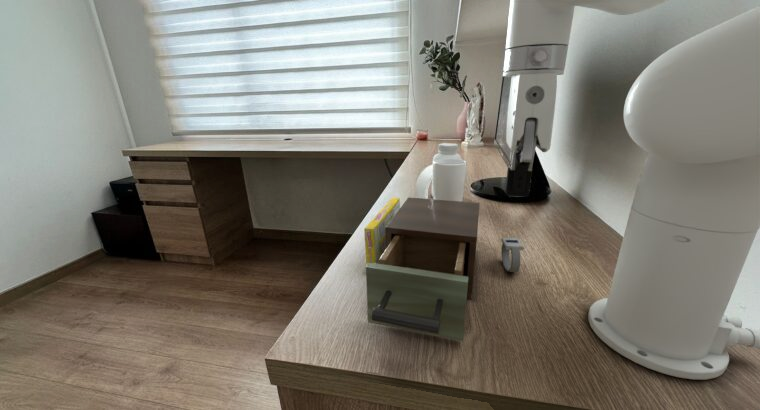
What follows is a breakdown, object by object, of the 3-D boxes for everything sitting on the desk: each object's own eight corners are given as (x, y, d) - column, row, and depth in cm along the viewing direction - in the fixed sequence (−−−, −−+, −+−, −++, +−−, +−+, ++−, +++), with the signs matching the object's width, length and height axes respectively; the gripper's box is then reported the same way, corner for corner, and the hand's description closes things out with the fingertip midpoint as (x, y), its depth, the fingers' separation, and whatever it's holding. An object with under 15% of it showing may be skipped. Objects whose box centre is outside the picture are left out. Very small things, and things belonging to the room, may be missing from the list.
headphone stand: (445, 214, 78) (448, 166, 74) (423, 218, 76) (425, 169, 72) (435, 208, 82) (437, 162, 78) (414, 212, 80) (415, 165, 76)
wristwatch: (523, 279, 50) (527, 251, 48) (505, 278, 50) (509, 250, 48) (512, 260, 56) (515, 234, 54) (495, 259, 56) (498, 233, 54)
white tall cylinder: (462, 236, 65) (468, 165, 60) (429, 234, 67) (432, 164, 62) (461, 224, 71) (466, 158, 67) (431, 222, 73) (433, 158, 68)
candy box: (391, 234, 67) (391, 197, 64) (401, 235, 66) (401, 197, 64) (365, 273, 53) (363, 227, 50) (377, 274, 52) (376, 228, 49)
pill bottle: (463, 194, 93) (466, 143, 88) (453, 202, 86) (457, 147, 81) (437, 191, 97) (439, 141, 92) (426, 198, 90) (428, 145, 85)
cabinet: (471, 299, 45) (477, 237, 42) (385, 285, 49) (385, 227, 46) (475, 252, 58) (479, 202, 55) (407, 244, 62) (408, 197, 59)
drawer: (459, 376, 32) (465, 310, 29) (352, 351, 35) (349, 290, 33) (469, 279, 48) (473, 232, 46) (395, 268, 52) (395, 224, 49)
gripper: (581, 56, 35) (554, 213, 41) (552, 67, 48) (535, 183, 54) (508, 60, 37) (492, 208, 43) (500, 69, 50) (489, 181, 56)
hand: (516, 194), depth 48 cm, fingers closed
